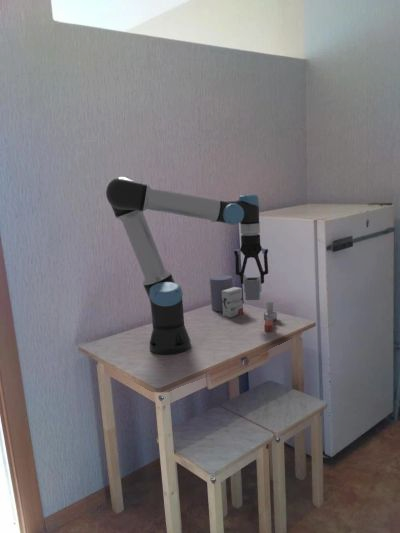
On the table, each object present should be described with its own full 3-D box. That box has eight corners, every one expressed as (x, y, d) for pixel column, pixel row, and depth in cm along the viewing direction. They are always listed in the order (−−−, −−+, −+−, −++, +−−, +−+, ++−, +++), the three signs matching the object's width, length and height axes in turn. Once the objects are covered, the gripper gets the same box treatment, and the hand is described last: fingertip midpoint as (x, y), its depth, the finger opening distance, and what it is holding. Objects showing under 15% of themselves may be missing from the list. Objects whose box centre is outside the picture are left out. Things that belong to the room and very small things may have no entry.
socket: (245, 300, 189) (244, 280, 188) (246, 296, 194) (246, 277, 193) (259, 300, 188) (258, 280, 186) (260, 296, 193) (259, 277, 192)
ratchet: (261, 331, 186) (260, 312, 184) (264, 318, 203) (263, 299, 201) (275, 331, 185) (274, 311, 183) (277, 317, 202) (276, 299, 200)
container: (207, 310, 221) (205, 278, 218) (220, 304, 229) (218, 274, 226) (225, 313, 215) (223, 280, 212) (238, 307, 222) (236, 276, 220)
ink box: (235, 311, 216) (234, 286, 213) (243, 313, 212) (242, 287, 210) (222, 316, 210) (220, 290, 208) (230, 318, 206) (228, 291, 204)
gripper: (225, 236, 185) (228, 294, 189) (273, 234, 181) (275, 293, 185) (228, 233, 192) (231, 289, 196) (274, 232, 188) (276, 288, 192)
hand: (252, 291), depth 191 cm, fingers closed on socket, 5 cm apart
